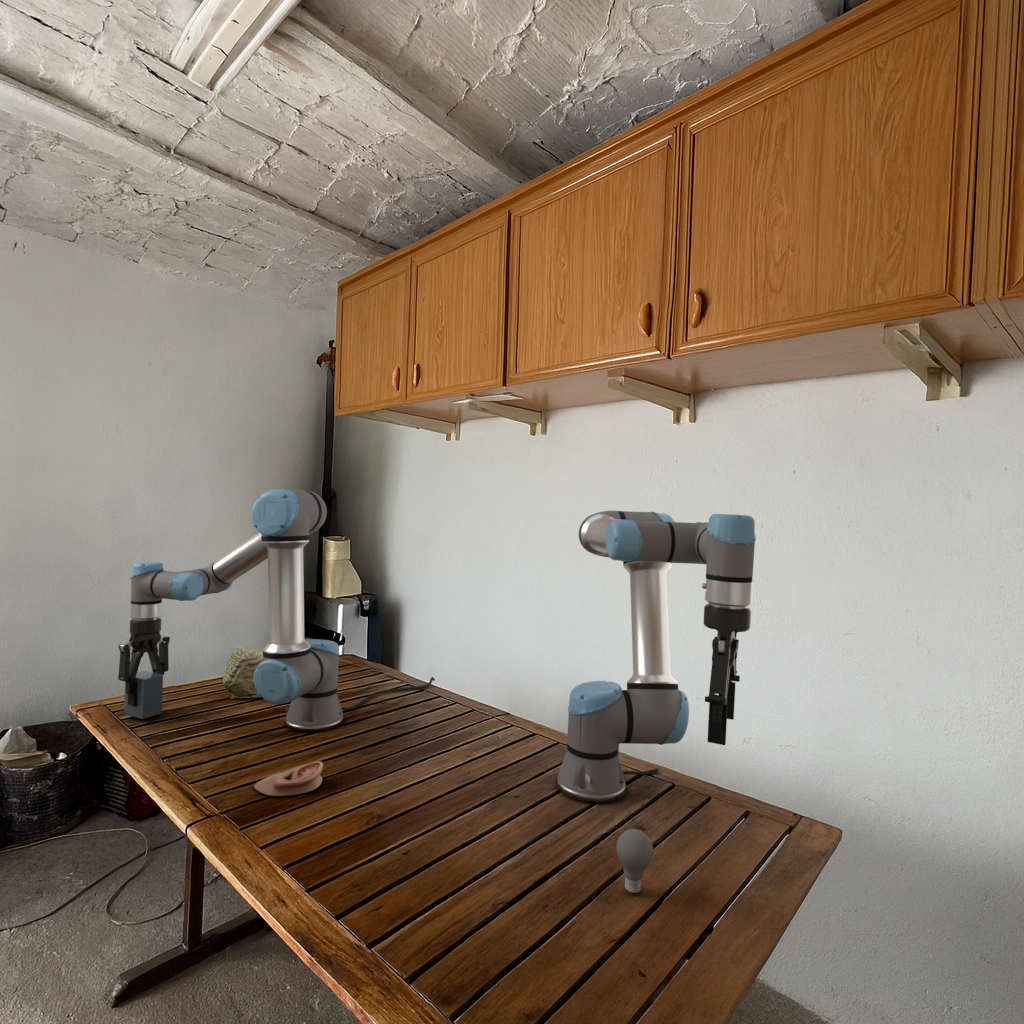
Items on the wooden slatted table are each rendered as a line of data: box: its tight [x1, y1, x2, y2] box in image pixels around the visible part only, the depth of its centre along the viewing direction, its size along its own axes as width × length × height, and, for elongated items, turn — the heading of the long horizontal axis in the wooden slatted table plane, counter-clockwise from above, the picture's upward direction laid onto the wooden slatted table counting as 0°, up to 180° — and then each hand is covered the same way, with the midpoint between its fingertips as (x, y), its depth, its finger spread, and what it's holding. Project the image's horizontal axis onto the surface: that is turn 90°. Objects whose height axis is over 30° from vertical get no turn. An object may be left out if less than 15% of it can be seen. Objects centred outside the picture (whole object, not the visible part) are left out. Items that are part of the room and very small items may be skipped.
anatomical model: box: [253, 760, 324, 797], centre depth 138 cm, size 13×4×12 cm
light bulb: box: [615, 828, 654, 894], centre depth 106 cm, size 6×6×10 cm
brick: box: [123, 670, 164, 720], centre depth 175 cm, size 6×8×11 cm
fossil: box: [222, 646, 263, 699], centre depth 198 cm, size 9×18×15 cm, turn 132°
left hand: (143, 701), depth 175 cm, fingers closed on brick, 6 cm apart
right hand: (721, 729), depth 107 cm, fingers open, 13 cm apart
